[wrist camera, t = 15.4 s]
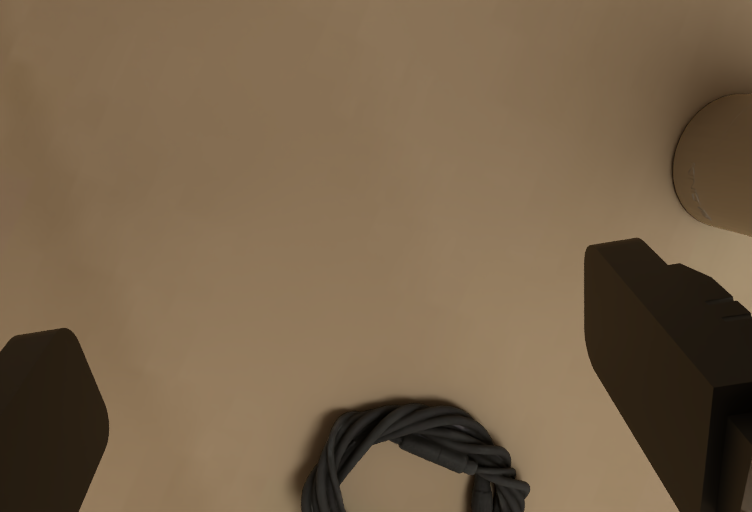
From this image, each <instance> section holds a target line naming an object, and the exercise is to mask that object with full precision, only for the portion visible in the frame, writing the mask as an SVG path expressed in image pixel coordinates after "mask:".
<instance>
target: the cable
mask: <svg viewBox="0 0 752 512" xmlns="http://www.w3.org/2000/svg"><path fill="white" fill-rule="evenodd" d="M387 440H390V441H392V442H394V443H397V444H398V445H399V447H400V448H401V449H403V450H405V451H408V452H409V453H412V454H414V455H417V456H419V457H421V458H424V459H425V460H428V461H431V462H433V463H435V464H438V465H441V466H443V467H445V468H447V469H449V470H452V471H455V472H457V473H462V472H464V473H466V474H469V475H474V474H475V480H474V487H473V489H472V499H471V508H472V512H492V509H493V498H492V491H491V487H490V482H493V483H495V486H496V491H497V493H496V498H495V504H494V510H493V512H524V508H525V501H524V499H525V498H526V497H527V495H528V494H529V492H530V486H529V484H528V483H527V482H524V481H520V480H516V479H515V477H516V471H515V469H513V468H511V457H510V454H509V452H508V451H507V450H506V449H505V448H503V447H500V446H494V444H493V441H492V439H491V437H490V435H489V434H488V432H487V431H486V429H485V428H484V427H483V426H482V425H481V424H479V423H478V422H476V421H475V420H474V419H473V418H472V417H471V416H470V415H469V414H468V413H466V412H465V411H463V410H461V409H459V408H455V407H452V406H435V407H429V406H426V405H423V404H418V403H413V404H407V405H404V406H398V405H389V406H383V407H380V408H377V409H374V410H368V411H364V412H356V411H353V412H347V413H345V414H343V415H341V416H340V417H339V418H338V419H337V420H336V422H335V424H334V425H333V427H332V429H331V432H330V435H329V439H328V441H327V442H326V444H325V446H324V449H323V451H322V453H321V456H320V459H319V462H318V464H317V465H316V466H315V467H314V469H313V470H312V471H311V473H310V475H309V476H308V478H307V480H306V482H305V485H304V488H303V491H302V497H301V510H302V512H346V511H345V509H344V504H343V499H342V495H341V491H340V487H339V486H340V484H341V483H342V482H343V480H344V479H345V477H346V476H347V475H348V474H349V472H350V471H351V470H352V469H353V467H354V466H355V465H356V464H357V462H358V461H359V460H360V459H361V458H362V457H363V455H364V454H365V453H366V452H367V451H368V450H369V448H370V447H371V446H372V445H374V444H377V443H380V442H384V441H387Z"/></svg>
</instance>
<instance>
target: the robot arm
mask: <svg viewBox="0 0 752 512" xmlns="http://www.w3.org/2000/svg"><path fill="white" fill-rule="evenodd" d="M673 179H674V184H675V189H676V193H677V195H678V197H679V199H680V202H681V204H682V205H683V206H684V208H685V209H686V210H687V212H688V213H689V214H690V215H692V216H693V217H694V218H695V219H697V220H698V221H700V222H702V223H704V224H707V225H709V226H713V227H717V228H721V229H725V230H728V231H732V232H736V233H740V234H744V235H747V236H750V237H752V94H733V95H729V96H725V97H721V98H719V99H717V100H715V101H713V102H711V103H709V104H708V105H707V106H705V107H704V108H703V109H702V110H700V111H699V112H698V113H697V114H696V115H695V116H694V118H693V119H692V120H691V121H690V122H689V124H688V125H687V127H686V129H685V130H684V132H683V134H682V135H681V138H680V140H679V143H678V146H677V148H676V152H675V158H674V163H673ZM584 332H585V341H586V347H587V351H588V355H589V359H590V361H591V364H592V366H593V369H594V371H595V372H596V374H597V376H598V377H599V379H600V381H601V382H602V384H603V386H604V387H605V389H606V391H607V392H608V394H609V396H610V397H611V399H612V401H613V402H614V404H615V405H616V407H617V409H618V410H619V412H620V414H621V415H622V417H623V419H624V420H625V422H626V424H627V425H628V427H629V429H630V430H631V432H632V434H633V435H634V437H635V439H636V440H637V442H638V443H639V445H640V447H641V448H642V450H643V452H644V453H645V455H646V457H647V458H648V460H649V462H650V463H651V465H652V467H653V468H654V470H655V472H656V473H657V475H658V477H659V478H660V480H661V481H662V483H663V485H664V486H665V488H666V490H667V491H668V493H669V495H670V496H671V498H672V500H673V501H674V503H675V505H676V506H677V508H678V510H679V511H680V512H752V317H751V313H750V312H749V311H748V310H747V309H746V308H745V307H744V306H743V305H741V304H740V303H739V302H738V301H734V300H733V296H731V295H730V294H729V293H728V292H727V291H726V290H725V289H724V288H723V287H722V286H720V285H719V284H718V283H717V282H716V281H715V280H714V279H713V278H712V277H709V276H707V275H705V274H703V273H700V272H698V271H696V270H694V269H692V268H689V267H687V266H685V265H683V264H680V263H678V264H672V265H667V264H666V263H665V262H664V261H663V260H662V259H661V258H660V257H659V256H658V255H657V254H656V253H655V252H654V251H653V250H652V249H651V248H650V247H649V246H648V245H647V244H646V243H645V242H644V241H643V240H642V239H640V238H632V239H626V240H620V241H613V242H607V243H601V244H594V245H590V246H588V247H587V249H586V252H585V258H584ZM108 436H109V419H108V413H107V409H106V406H105V403H104V401H103V399H102V396H101V394H100V391H99V389H98V387H97V384H96V382H95V379H94V377H93V375H92V372H91V370H90V367H89V365H88V363H87V360H86V358H85V355H84V353H83V351H82V348H81V346H80V343H79V341H78V339H77V337H76V336H75V334H74V333H73V332H72V331H71V330H69V329H67V328H60V329H54V330H47V331H41V332H35V333H29V334H22V335H17V336H14V337H13V338H11V339H10V340H9V341H8V343H7V344H6V345H5V347H4V348H3V349H2V351H1V352H0V512H79V509H80V507H81V505H82V502H83V500H84V498H85V495H86V493H87V491H88V488H89V486H90V484H91V481H92V479H93V477H94V474H95V472H96V470H97V467H98V465H99V463H100V460H101V458H102V455H103V453H104V451H105V448H106V446H107V442H108Z"/></svg>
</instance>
